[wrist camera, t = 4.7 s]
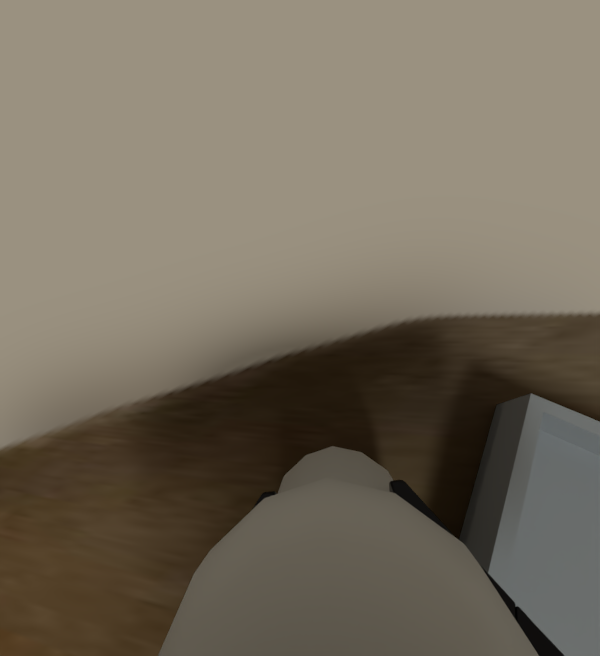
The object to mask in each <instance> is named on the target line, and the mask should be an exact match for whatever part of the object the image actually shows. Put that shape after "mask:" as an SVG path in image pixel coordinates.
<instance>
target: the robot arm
mask: <svg viewBox="0 0 600 656" xmlns="http://www.w3.org/2000/svg"><path fill="white" fill-rule="evenodd" d="M389 492H392V493H395V494H397V495H398V496H399V497H401V498H402V499H404V500H405V501H406V502H408V503H409V504H410V505H412V506H413V507H414V508H416V509H417V510H419V511H420V512H421V513H423V514H424V515H425V516H427V517H428V518H429V519H431V520H432V521H434V522H435V523H436V524H438V525H439V526H440V527H442V528H443V529H445V530H446V531H447V532H449V533H450V534H451V535H453V534H452V533H451V532H450V531H449V530H448V529H447V527H446V526H445V525H444V524H443V523H442V522H441V521H440V520H439V519H438V518H437V516H436V515H435V514H434V513H433V512H432V511H431V510H430V509H429V508H428V507H427V506H426V504H425V503H424V502H423V501H422V500H421V499H420V498H419V497H418V496H417V495H416V493H415V492H414V491H413V490H412V489H411V488H410V487H409V486H408V485H407V484H406V483H405V482H404V481H403V480H394V481H390V482H389ZM276 494H277V493H276V492H274V491H272V492H264V493H263V494H262V495H261V496H260V498H259V499H258V501H257V503H256V504H255V506H254V508H255V507H256V506H257V505H258V504H259V503H260V502H261V501H262V500H263V499H264V498H267V497H270V496H273V495H276ZM254 508H253V509H254ZM253 509H252V510H253ZM453 536H454V535H453ZM454 537H455V536H454ZM455 538H456V537H455ZM476 561H477V560H476ZM477 562H478V561H477ZM479 565H480V564H479ZM480 566H481V565H480ZM481 568H482V569H483V570H484V572H485V573H486V575H487V577H488V578H489V580H490V581H491V583H492V584H493V586H494V587H495V589H496V590H497V592H498V594H499V595H500V597H501V598H502V600H503V601H504V603H505V604H506V606H507V607H508V609H509V610H510V612H511V614H512V615H513V617H514V618H515V620H516V621H517V623H518V624H519V626H520V627H521V629H522V630H523V632H524V634H525V635H526V637H527V638H528V640H529V641H530V643H531V644H532V646H533V647H534V649H535V650H536V652H537V654H538V655H539V656H564V654H563V653H562V652H561V651H560V650H559V649H558V648H557V647H556V646H555V645H554V644H553V643H552V642H551V641H550V640H549V639H548V638H547V637H546V635H545V634H544V633H543V632H542V631H541V630H540V629H539V628H538V627H537V626H536V625H535V624H534V623H533V622H532V620H531V619H530V618H529V617H528V616H527V615H526V614H525V613H524V612H523V611H522V609H521V608H520V607H518V606H516V605H515V602H514V601H513V600H512V599H511V598H510V596H509V595H508V594H507V593H506V592H505V591H504V590H503V589H502V588H501V587H500V586H499V584H498V583H497V582H496V581H495V580H494V579H493V578H492V577H491V576H490V575H489V573H488V572H487V571H486V570H485V569H484V568H483V567H482V566H481Z"/></svg>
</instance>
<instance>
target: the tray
mask: <svg viewBox="0 0 600 656" xmlns="http://www.w3.org/2000/svg"><path fill="white" fill-rule="evenodd" d="M459 540H460V541H461V542H462V543H464V544H465V546H466V547H467V548H468V550H469V551H470V552H471V554H472V555H473V557H474V558H475V559H476V560H477V561H478V563H479V564H480V565H481V566H482V567H483V568H484V569H485V570H486V571H487V572H488V573H489V575H490V576H491V577H492V578H493V579H494V580H495V581H496V582H497V583H498V584H499V586H500V587H501V588H502V589H503V590H504V591H505V592H506V593H507V594H508V595H509V596H510V598H511V599H512V600H513V601H514V602H515V605H516V606H518V607H520V608H521V609H522V611H523V612H524V613H525V614H526V615H527V616H528V617H529V618H530V619H531V620H532V622H533V623H534V624H535V625H536V626H537V627H538V628H539V629H540V630H541V631H542V632H543V633H544V634H545V635H546V637H547V638H548V639H549V640H550V641H551V642H552V643H553V644H554V645H555V646H556V647H557V648H558V649H559V650H560V651H561V652H562V653H563V654H564V656H600V422H599V421H597V420H594V419H592V418H590V417H587V416H585V415H582V414H580V413H577V412H575V411H573V410H570V409H568V408H565V407H563V406H560V405H558V404H556V403H553V402H551V401H548V400H546V399H543V398H541V397H539V396H536V395H534V394H528V395H524V396H521V397H518V398H515V399H512V400H509V401H506V402H503V403H500V404H497V405H496V409H495V412H494V416H493V420H492V423H491V427H490V430H489V434H488V437H487V441H486V445H485V448H484V452H483V455H482V459H481V463H480V466H479V470H478V473H477V477H476V480H475V484H474V488H473V491H472V495H471V498H470V502H469V506H468V509H467V513H466V516H465V520H464V523H463V527H462V531H461V534H460V538H459Z"/></svg>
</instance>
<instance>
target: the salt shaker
mask: <svg viewBox="0 0 600 656" xmlns="http://www.w3.org/2000/svg"><path fill="white" fill-rule="evenodd" d="M390 481H393V479H392V477H391V476H390V474H389V472H388V471H387V470H386V469H385V468H383V467H382V466H380V465H379V464H377V463H376V462H375V461H373V460H372V459H370V458H369V457H367V456H366V455H365V454H363V453H362V452H358V451H353V450H349V449H344V448H339V447H334V446H331V447H329V448H326V449H323V450H320V451H317V452H314V453H311V454H308V455H306V456H304V457H303V458H302V459H301V460H300V461H299V462H298V463H297V464H296V465H295V466H294V467H293V468H292V469H291V470H290V471H288V472H287V473H286V474H285V475H284V477H283V480H282V483H281V485H280V488H279V491H278V494H276V495H273V496H270V497H267V498H264V499H263V500H262V501H261V502H260V503H259V504H258V505H257V506H256V507H255V508H254V509H253V510H251V511H250V512H249V513H248V514H247V515H246V516H245V517H244V518H243V519H242V520H241V521H240V522H239V523H238V524H237V525H236V526H235V527H234V528H233V529H232V530H231V531H230V532H229V533H228V534H227V535H225V536H224V537H223V538H222V539H221V540H220V541H219V542H218V543H217V544H216V545H215V546H214V547H213V548H212V549H211V550H210V551H209V553H208V554H207V556H206V557H205V559H204V560H203V561H202V563H201V564H200V566H199V567H198V569H197V570H196V571H195V573H194V575H193V577H192V579H191V582H190V584H189V586H188V589H187V591H186V593H185V595H184V598H183V600H182V602H181V605H180V607H179V609H178V611H177V614H176V616H175V618H174V620H173V623H172V625H171V627H170V630H169V632H168V634H167V636H166V639H165V641H164V643H163V646H162V648H161V650H160V652H159V655H158V656H539V655H538V654H537V652H536V650H535V649H534V647H533V646H532V644H531V643H530V641H529V640H528V638H527V637H526V635H525V634H524V632H523V630H522V629H521V627H520V626H519V624H518V623H517V621H516V620H515V618H514V617H513V615H512V614H511V612H510V610H509V609H508V607H507V606H506V604H505V603H504V601H503V600H502V598H501V597H500V595H499V594H498V592H497V590H496V589H495V587H494V586H493V584H492V583H491V581H490V580H489V578H488V577H487V575H486V573H485V572H484V570H483V569H482V568H481V566H480V565H479V563H478V562H477V561H476V559H475V558H474V557H473V555H472V554H471V552H470V551H469V550H468V548H467V547H466V546H465V544H464V543H462V542H461V541H460V540H458V539H457V538H455V537H454V536H453V535H451V534H450V533H449V532H447V531H446V530H445V529H443V528H442V527H440V526H439V525H438V524H436V523H435V522H434V521H432V520H431V519H429V518H428V517H427V516H425V515H424V514H423V513H421V512H420V511H419V510H417V509H416V508H414V507H413V506H412V505H410V504H409V503H408V502H406V501H405V500H404V499H402V498H401V497H399V496H398V495H397V494H395V493H392V492H389V482H390Z"/></svg>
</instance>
